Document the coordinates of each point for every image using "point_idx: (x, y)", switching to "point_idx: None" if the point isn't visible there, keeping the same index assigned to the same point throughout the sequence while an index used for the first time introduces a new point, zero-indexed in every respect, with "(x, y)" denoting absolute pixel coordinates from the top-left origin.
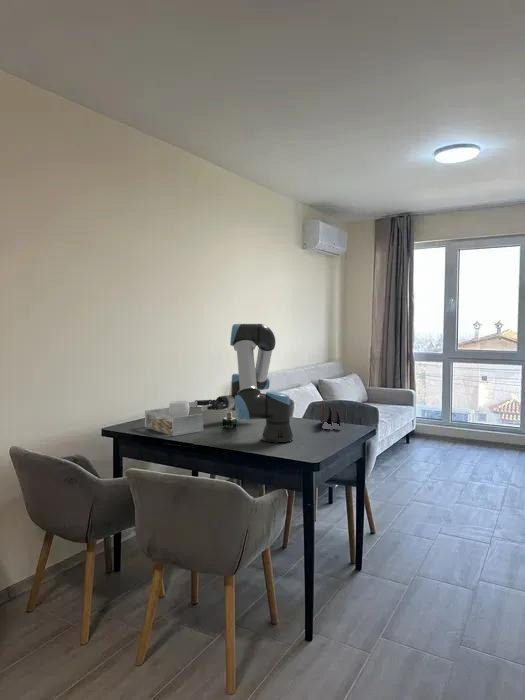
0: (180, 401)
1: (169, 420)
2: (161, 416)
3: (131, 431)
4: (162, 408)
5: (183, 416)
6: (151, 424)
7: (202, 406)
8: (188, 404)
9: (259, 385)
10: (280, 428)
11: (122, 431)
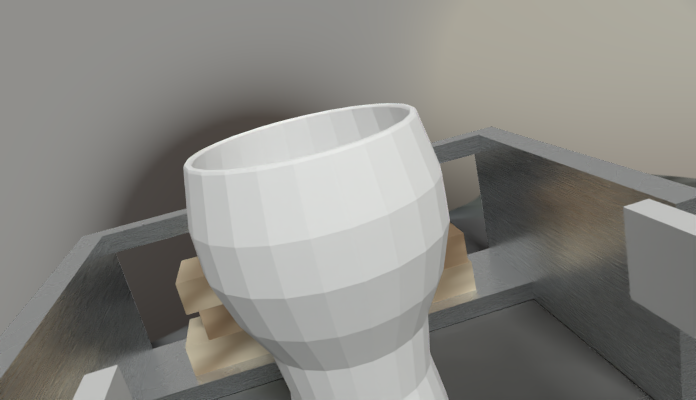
0: (401, 132)
1: None
2: None
3: (467, 224)
4: (585, 156)
5: (65, 272)
6: (506, 248)
7: (88, 383)
8: (212, 205)
9: None
10: None
11: (481, 204)
